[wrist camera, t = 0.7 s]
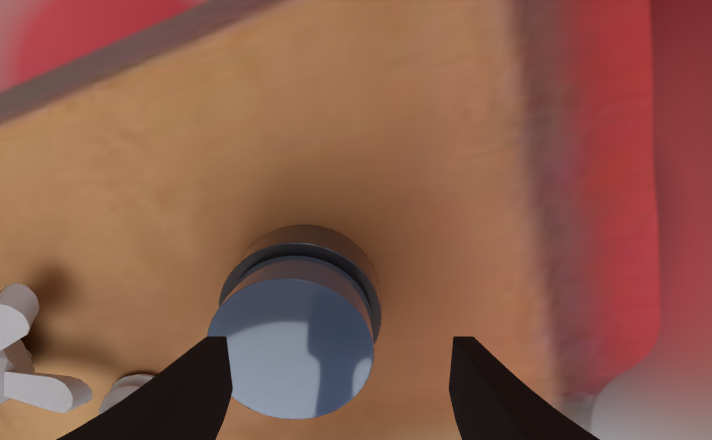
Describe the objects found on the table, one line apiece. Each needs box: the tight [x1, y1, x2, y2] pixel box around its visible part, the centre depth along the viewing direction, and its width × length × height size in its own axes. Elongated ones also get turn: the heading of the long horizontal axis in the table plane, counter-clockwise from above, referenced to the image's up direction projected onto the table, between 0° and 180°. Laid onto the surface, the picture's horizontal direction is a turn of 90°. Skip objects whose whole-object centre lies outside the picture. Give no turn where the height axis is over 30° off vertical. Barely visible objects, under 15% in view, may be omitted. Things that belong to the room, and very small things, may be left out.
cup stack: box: [207, 225, 381, 419], centre depth 19 cm, size 9×9×6 cm
